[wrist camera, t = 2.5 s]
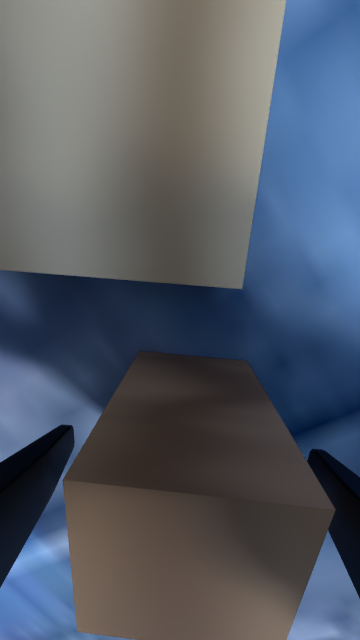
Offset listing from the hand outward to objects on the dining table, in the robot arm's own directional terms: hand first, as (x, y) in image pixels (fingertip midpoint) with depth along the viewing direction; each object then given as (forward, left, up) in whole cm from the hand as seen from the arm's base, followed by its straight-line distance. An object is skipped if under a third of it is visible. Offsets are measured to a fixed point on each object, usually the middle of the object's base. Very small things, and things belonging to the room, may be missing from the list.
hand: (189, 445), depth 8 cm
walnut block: (0, 0, -2) cm, 3 cm away
